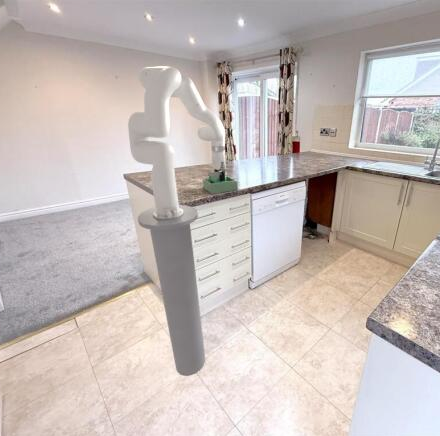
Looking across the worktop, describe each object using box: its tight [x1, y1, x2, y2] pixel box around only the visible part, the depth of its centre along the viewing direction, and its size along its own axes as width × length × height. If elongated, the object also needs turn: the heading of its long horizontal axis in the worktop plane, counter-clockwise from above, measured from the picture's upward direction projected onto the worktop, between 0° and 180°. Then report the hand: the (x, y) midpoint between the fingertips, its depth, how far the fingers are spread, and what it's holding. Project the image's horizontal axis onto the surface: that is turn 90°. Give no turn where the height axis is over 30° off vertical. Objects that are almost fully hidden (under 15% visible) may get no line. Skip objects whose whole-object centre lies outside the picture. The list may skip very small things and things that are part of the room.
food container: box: [207, 170, 228, 184], centre depth 146 cm, size 12×6×10 cm, turn 137°
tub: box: [202, 175, 239, 195], centre depth 148 cm, size 13×17×6 cm
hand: (219, 179), depth 146 cm, fingers closed on food container, 6 cm apart
